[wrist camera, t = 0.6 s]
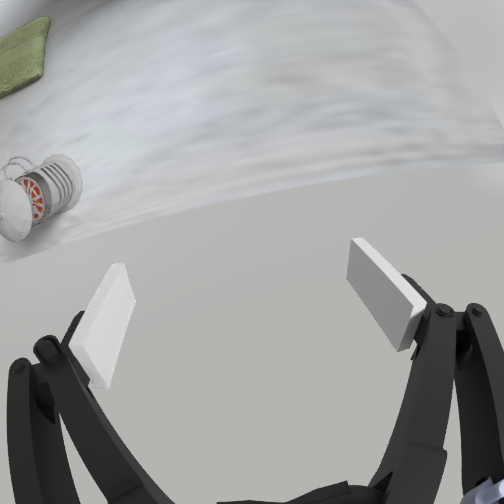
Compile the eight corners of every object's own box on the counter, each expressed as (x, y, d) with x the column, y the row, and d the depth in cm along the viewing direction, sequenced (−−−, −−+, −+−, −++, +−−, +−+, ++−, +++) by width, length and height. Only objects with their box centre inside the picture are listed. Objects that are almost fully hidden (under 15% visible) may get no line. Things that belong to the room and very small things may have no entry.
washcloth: (-13, 49, 21) (-22, 48, 18) (54, 14, 23) (45, 10, 20) (-18, 109, 26) (-28, 110, 23) (47, 81, 28) (36, 79, 26)
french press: (54, 222, 39) (-36, 308, 16) (24, 166, 33) (-82, 221, 11) (92, 193, 38) (-6, 276, 16) (61, 133, 33) (-59, 166, 10)
